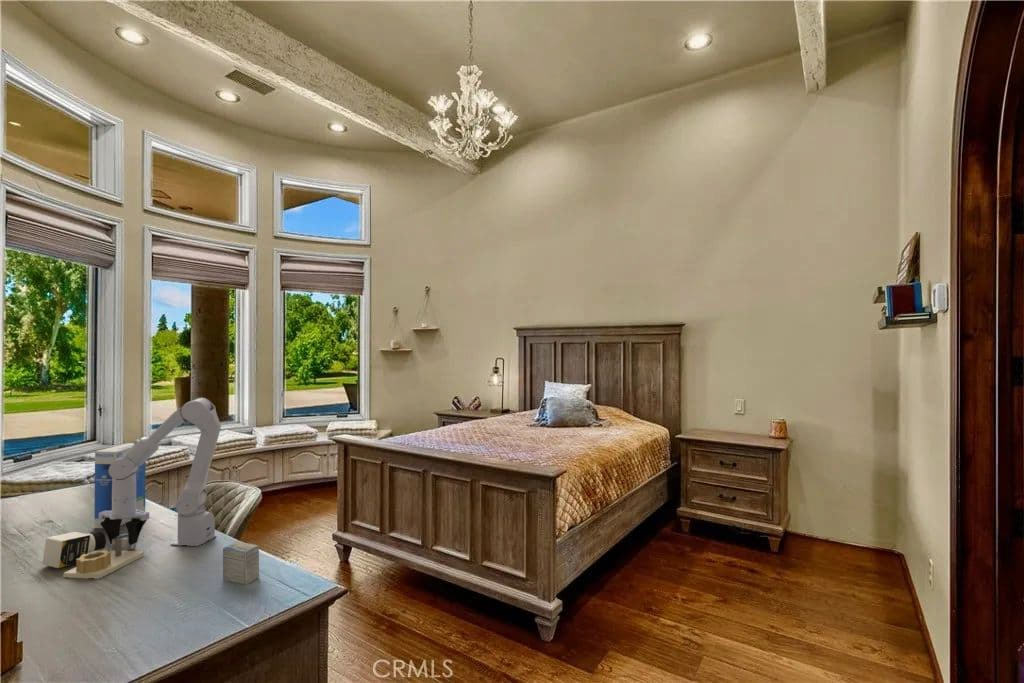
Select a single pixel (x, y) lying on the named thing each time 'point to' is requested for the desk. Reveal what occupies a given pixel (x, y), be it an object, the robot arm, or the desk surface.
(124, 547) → the steel gear
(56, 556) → the medicine bottle
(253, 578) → the beige wooden block
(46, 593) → the desk surface
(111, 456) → the string lights box
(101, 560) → the gear board
